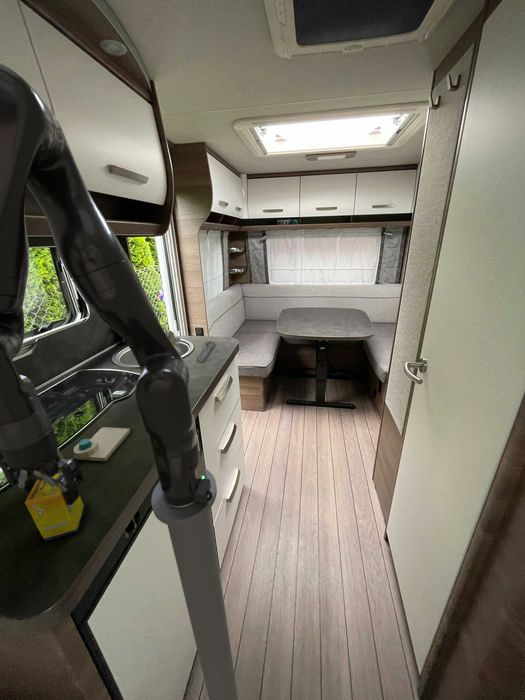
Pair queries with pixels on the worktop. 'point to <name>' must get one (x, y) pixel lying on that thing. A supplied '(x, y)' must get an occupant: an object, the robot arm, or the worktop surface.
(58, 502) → the supplement box
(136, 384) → the robot arm
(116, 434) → the scale
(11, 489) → the worktop surface
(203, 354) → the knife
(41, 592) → the worktop surface
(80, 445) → the button
